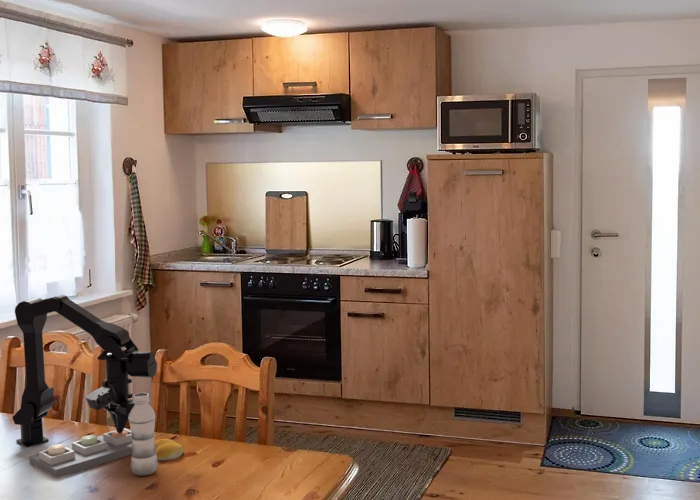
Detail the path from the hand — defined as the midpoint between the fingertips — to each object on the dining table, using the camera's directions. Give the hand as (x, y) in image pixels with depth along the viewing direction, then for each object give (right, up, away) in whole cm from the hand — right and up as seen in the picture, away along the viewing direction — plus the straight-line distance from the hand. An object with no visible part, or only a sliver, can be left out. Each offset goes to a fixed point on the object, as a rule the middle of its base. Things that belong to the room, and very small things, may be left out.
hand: (119, 432), depth 223 cm
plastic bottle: (+11, -6, -18) cm, 22 cm away
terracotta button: (0, -2, 0) cm, 2 cm away
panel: (-6, -5, -6) cm, 10 cm away
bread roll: (+14, -5, -5) cm, 15 cm away
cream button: (-12, -2, -13) cm, 18 cm away
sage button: (-6, -2, -6) cm, 9 cm away
